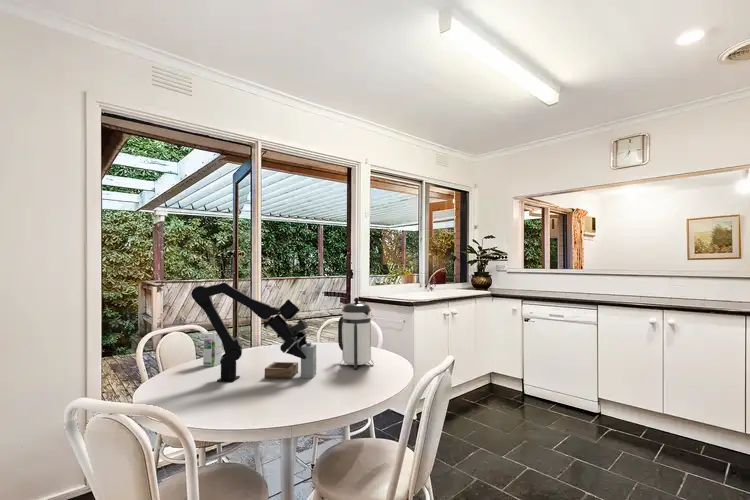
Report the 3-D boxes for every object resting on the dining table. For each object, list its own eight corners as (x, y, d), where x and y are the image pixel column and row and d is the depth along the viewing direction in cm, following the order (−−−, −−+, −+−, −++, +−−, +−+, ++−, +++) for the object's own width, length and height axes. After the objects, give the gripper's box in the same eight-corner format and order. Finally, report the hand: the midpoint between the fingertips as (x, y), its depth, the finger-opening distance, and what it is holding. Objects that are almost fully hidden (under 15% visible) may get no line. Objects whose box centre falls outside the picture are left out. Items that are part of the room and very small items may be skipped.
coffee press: (375, 361, 178) (375, 296, 180) (371, 370, 162) (371, 298, 164) (338, 360, 180) (338, 296, 181) (331, 369, 164) (331, 298, 165)
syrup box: (202, 365, 171) (203, 333, 172) (211, 362, 177) (212, 330, 178) (213, 366, 170) (213, 333, 170) (222, 363, 175) (222, 331, 176)
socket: (290, 379, 150) (290, 369, 150) (264, 378, 151) (264, 368, 151) (298, 372, 160) (298, 362, 160) (273, 371, 161) (273, 362, 161)
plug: (313, 377, 152) (313, 344, 152) (300, 377, 152) (300, 344, 153) (316, 374, 157) (316, 342, 157) (304, 374, 157) (304, 342, 158)
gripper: (288, 317, 147) (317, 346, 145) (301, 311, 165) (327, 337, 164) (268, 337, 147) (296, 367, 146) (283, 329, 166) (309, 355, 164)
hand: (308, 355), depth 155 cm, fingers open, 9 cm apart
